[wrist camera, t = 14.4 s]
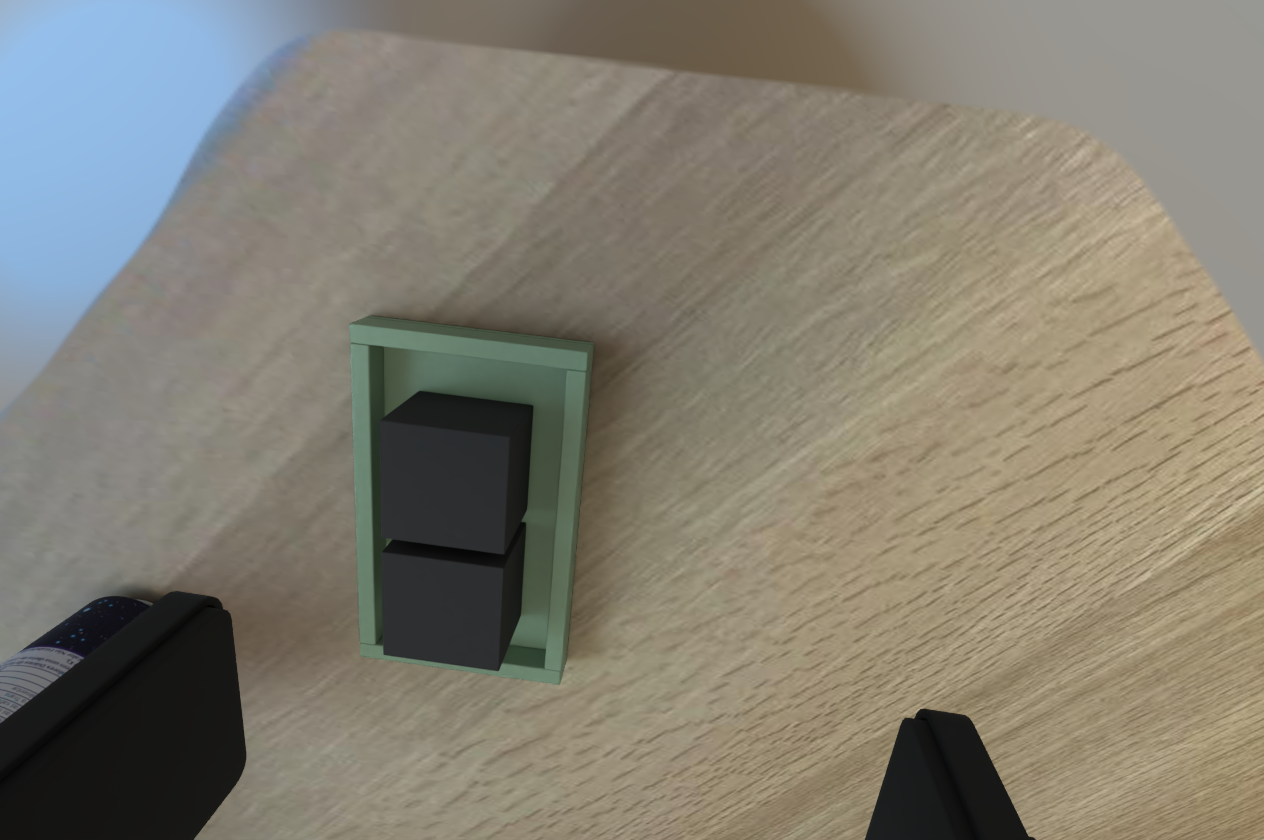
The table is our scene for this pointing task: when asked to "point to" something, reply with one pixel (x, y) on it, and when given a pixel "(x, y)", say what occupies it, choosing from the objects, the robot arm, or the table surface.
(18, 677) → the beverage can
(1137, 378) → the table surface
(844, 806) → the table surface
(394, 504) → the black cube
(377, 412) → the tray
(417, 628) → the black block
